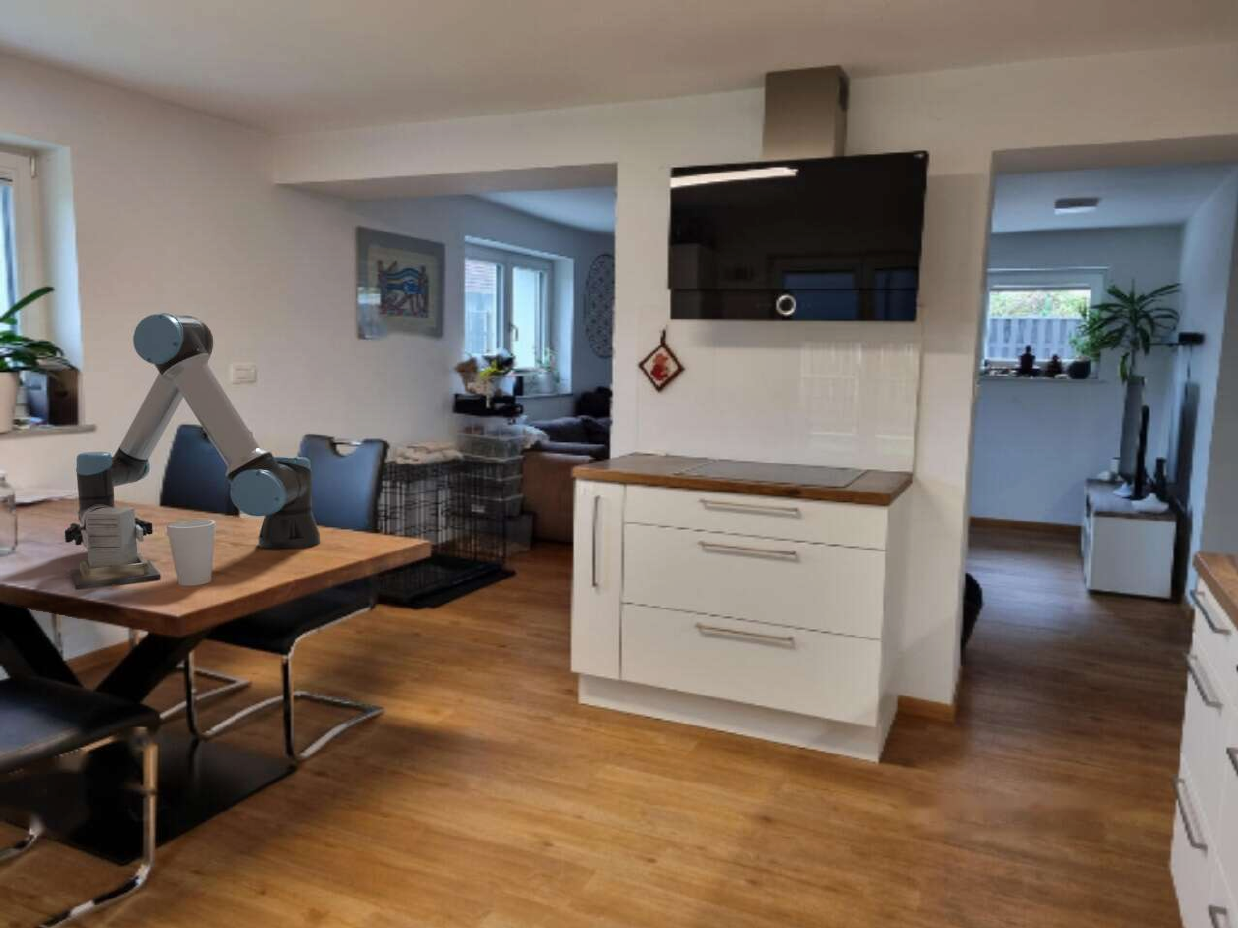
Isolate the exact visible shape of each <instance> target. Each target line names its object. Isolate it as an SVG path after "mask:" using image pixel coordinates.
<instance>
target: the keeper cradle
mask: <svg viewBox="0 0 1238 928" xmlns="http://www.w3.org/2000/svg"><path fill="white" fill-rule="evenodd" d="M137 557H138V562H136V563H134V564H128V565H119V566H111V567H102V568H94V569H89V562H88V558H83V559H79V568H76V569H69V570H68V575H69V577H70V580H71V582H72V585H73V587H74V589H75V591H78V590H79V591H80V590H86V589H95V588H96V589H97V588H103V587H110V586H111V587H112V586H117V585H124V584H126V585H127V584H133V583H141V582H149V581H157V580H162V577H161V575H162V574H161V573H160V572H159V570H157V568H156V567H155V566H154V565H153V563H152V562H150V560H147V559H146V558H145V557H144V556H143V555H142V553H141V552H137Z"/></svg>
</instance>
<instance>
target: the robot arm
mask: <svg viewBox="0 0 1238 928" xmlns="http://www.w3.org/2000/svg"><path fill="white" fill-rule="evenodd" d="M132 337H133V338H132V339H133V340H132V343H133V348H134V350H135V352H136V354H137V355H138V356H139V357H140V358H141V359H142V360H143V361H145V362H147V363H149V364H151V365H154V366H155V368H156V369H157V371H158V375H157V377H156V379H155V380H154V381H153V384H152V385H151V387H150V389H149V391H148V393H147V394H146V396H145V398H144V401H143V402H142V404H141V405H140V408H139V410H138V411H137V413H136V415H135V416H134V418H133V421H132V422H131V424H130V425H129V428H128V430H127V432H126V433H125V436H124V437H123V439H122V441H121V443H119V446H118V448H117V450H116V452H115V453H114V455H113V456H112V454H111V453H110V452H108V451H90V452H88V451H87V452H82V453H81V452H80V453H79V454H78V455H77V456H76V469H75V470H76V472H75V473H76V481H77V491H78V492H77V493H78V507H79V508H78V511H77V512H78V521H79V522H80V523H76V522H72V523H70V526H69V527H67V529H65V530H64V539H65V540H64V541H65V543H67V544H68V543H72V542H73V541H75V546H81V545H82V546H83V547H84V549H86V548H87V547H89V543H88V534H87V532H86V520H85V514H86V513H89V512H92V511H95V510H97V509H100V508H116V506H115V503H116V502H115V487H118V486H123V485H127V484H133V483H136V482H138V481H141V480H143V479H144V478H146V476H148V474H149V472H150V462H149V460H150V458H151V456H152V454H153V452H154V450H155V449H156V447H157V445H158V443H159V442H160V440H161V438H162V436H163V434H164V432H165V430H166V428H168V426H169V423H170V422H171V420H172V418H173V416H174V415H175V412H176V411H177V409H178V407H179V405H180V404H181V402H182V400H183V399H184V400H185V402H186V404H187V405H188V407H189V408H190V409H191V411H192V413H193V415H194V416H195V418H196V419H197V420H198V422H199V424H200V426H201V427H202V429H203V430H204V431H205V432H204V433H206V435H207V436H208V438H209V440H210V441H211V442H212V444H213V446H214V447H215V449H216V450H217V452H218V454H219V455H220V457H221V458H222V460H223V462H225V464H226V466H227V469H226V472H225V476H226V478H227V480H228V481H229V483H230V490H229V493H230V498H231V501H232V503H233V504H234V506H235V507H236V508H237V509H238V510H239V511H241V512H242V513H244V514H246V515H248V516H252V517H263V521H262V524H261V528H260V530H259V531H260V532H259V535H258V546H259V547H260V548H262V549H267V550H278V551H279V550H297V549H304V548H311V547H312V546H317V545H318V544H320V543H321V533H320V531H319V528H318V526H317V523H316V519H315V517H314V515H313V499H312V497H313V495H312V471H313V470H312V468H311V462H310V459H309V458H307V457H291V456H289V457H288V456H274V455H273V453H272V452H271V451H269V450H266V449H263V448H261V447H260V446H259V444H258V442H257V440H256V439H255V438H254V436H253V434H252V432H250V430H249V428H248V427H247V425H246V424H245V422H244V421H243V419H242V417H241V415H240V414H239V413H238V410H237V409H236V408H235V406H234V405H233V402H232V401H231V399H230V398H229V397H228V395H227V393H226V392H225V390H224V389H223V387H222V386H221V384H220V383H219V381H218V379H217V378H216V376H215V374H214V373H213V371H212V370H211V368H210V366H209V365H208V362H209V359H210V357H211V355H212V352H213V348H214V339H213V338H214V337H213V333H212V332H211V329H210V328H209V326H208V325H207V324H206V323H205V322H204V321H203V320H200V319H199V318H197V317H194V316H190V315H173V314H170V313H162V312H161V313H156V314H151V315H148V316H146V317H144V318H143V319H142V320H140V321H139V323H138V324H137V325H136V327H135V329H134V334H133V336H132ZM135 527H136V540H138V542H139V543H140V542H145V541H144V536H147V535H153V533H154V531H153V529H154V528H153V523H152V522H149V521H146V520H143V519H139V518H138V517H135Z"/></svg>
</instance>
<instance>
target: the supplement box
mask: <svg viewBox="0 0 1238 928" xmlns="http://www.w3.org/2000/svg"><path fill="white" fill-rule="evenodd" d="M135 512H136V511H135V508H134V507H115V508H100V509H97V510H95V511H92V512H89V513H86V514H85V520H86V532H87V534H88V543H89V547H87V559H88V562H89V569H94V568H102V567H111V566H119V565H128V564H134V563H136V562H138V557H137V553H138V546H137V545H138V543H137V542H138V541H137V538H136V527H135V518H136V514H135Z"/></svg>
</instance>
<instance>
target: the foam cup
mask: <svg viewBox="0 0 1238 928" xmlns="http://www.w3.org/2000/svg"><path fill="white" fill-rule="evenodd" d="M166 533H167V537H168V540H169V544H170V549H171V554H172V559H173V563H174V569H175V574H176V578H177V581H178V582H177V583H178V585H180V586H185V587H186V586H189V587H190V586H198V585H199V586H200V585H204V584H207V583H210V582H211V580H212V571H213V563H214V562H213V560H214V551H215V550H214V548H215V540H216V539H215V537H216V533H217V523H216V521H215V520H213V519H202V518H201V519H198V518H197V519H196V518H195V519H185V520H177V521H176V520H175V521H173V522H169V523H168V524H166Z"/></svg>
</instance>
